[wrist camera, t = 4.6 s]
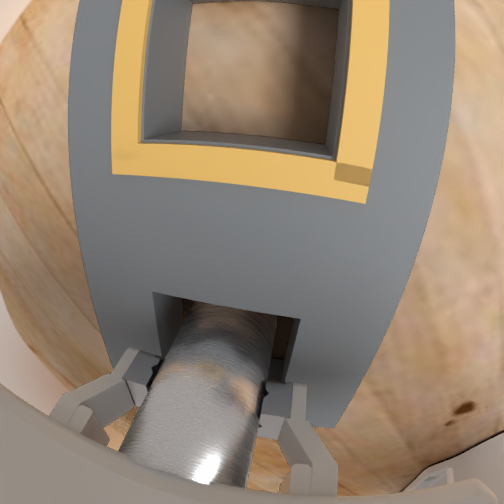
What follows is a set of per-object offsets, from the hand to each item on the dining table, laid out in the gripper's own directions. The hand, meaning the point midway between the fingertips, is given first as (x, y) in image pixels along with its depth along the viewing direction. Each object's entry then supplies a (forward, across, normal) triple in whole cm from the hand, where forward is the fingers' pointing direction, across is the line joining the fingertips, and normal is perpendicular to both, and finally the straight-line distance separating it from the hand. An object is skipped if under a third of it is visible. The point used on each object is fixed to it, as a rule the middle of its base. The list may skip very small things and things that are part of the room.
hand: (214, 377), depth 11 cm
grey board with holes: (+4, 0, -6) cm, 7 cm away
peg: (+4, 0, 0) cm, 4 cm away
